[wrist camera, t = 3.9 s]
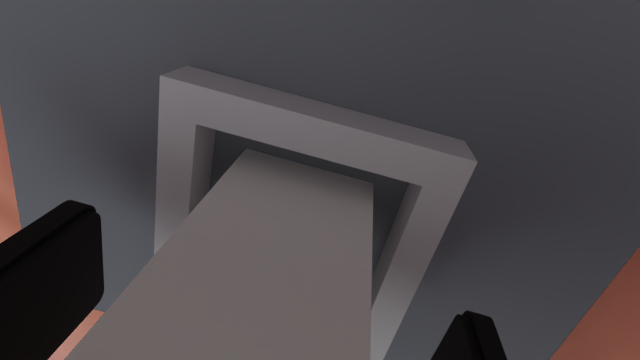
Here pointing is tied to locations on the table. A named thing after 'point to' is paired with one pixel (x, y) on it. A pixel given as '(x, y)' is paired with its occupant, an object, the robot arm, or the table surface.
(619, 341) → the table surface
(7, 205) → the table surface
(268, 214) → the plug
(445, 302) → the dock board
